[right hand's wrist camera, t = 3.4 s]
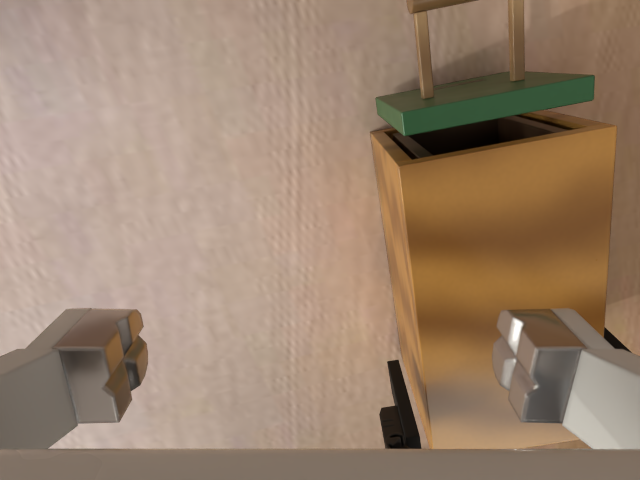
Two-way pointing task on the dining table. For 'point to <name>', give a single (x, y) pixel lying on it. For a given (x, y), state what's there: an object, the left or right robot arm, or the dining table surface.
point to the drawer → (476, 97)
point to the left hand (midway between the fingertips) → (494, 360)
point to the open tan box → (492, 264)
